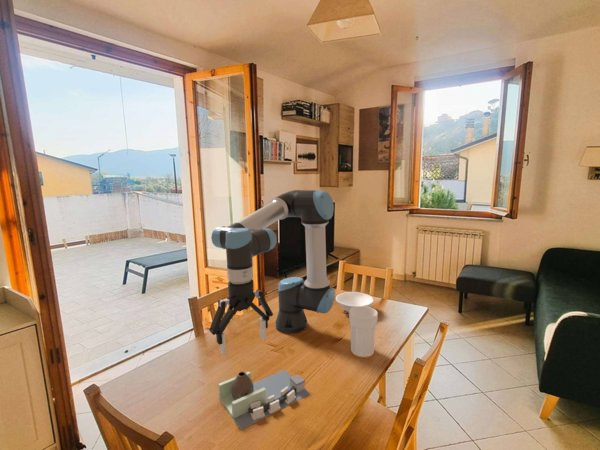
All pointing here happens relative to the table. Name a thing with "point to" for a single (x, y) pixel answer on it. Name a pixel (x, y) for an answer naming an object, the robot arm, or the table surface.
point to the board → (272, 387)
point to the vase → (241, 386)
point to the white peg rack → (274, 406)
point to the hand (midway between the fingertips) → (243, 345)
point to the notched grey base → (281, 400)
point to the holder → (241, 404)
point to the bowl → (353, 300)
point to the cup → (362, 330)
